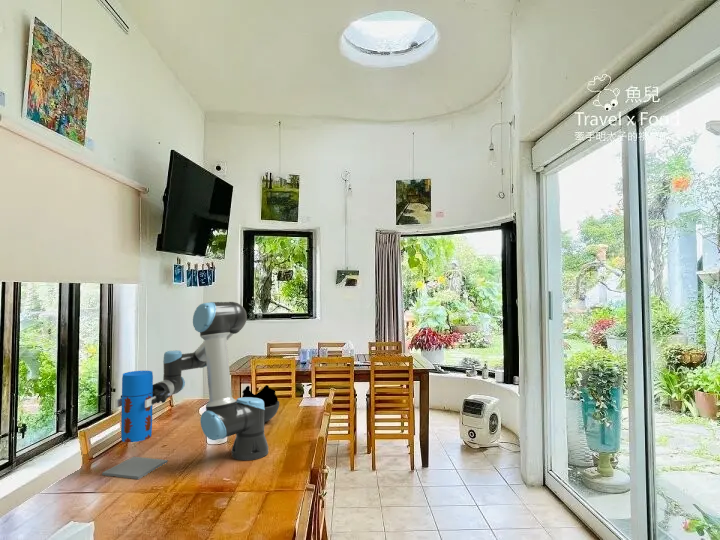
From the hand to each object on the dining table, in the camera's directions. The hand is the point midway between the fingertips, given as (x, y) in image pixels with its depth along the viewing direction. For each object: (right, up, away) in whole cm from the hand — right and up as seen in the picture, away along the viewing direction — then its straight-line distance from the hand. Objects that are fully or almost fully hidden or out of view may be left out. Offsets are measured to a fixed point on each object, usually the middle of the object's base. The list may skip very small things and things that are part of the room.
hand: (131, 404), depth 166 cm
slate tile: (0, -26, +3) cm, 26 cm away
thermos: (0, -14, +3) cm, 15 cm away
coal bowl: (+35, -29, +61) cm, 76 cm away
